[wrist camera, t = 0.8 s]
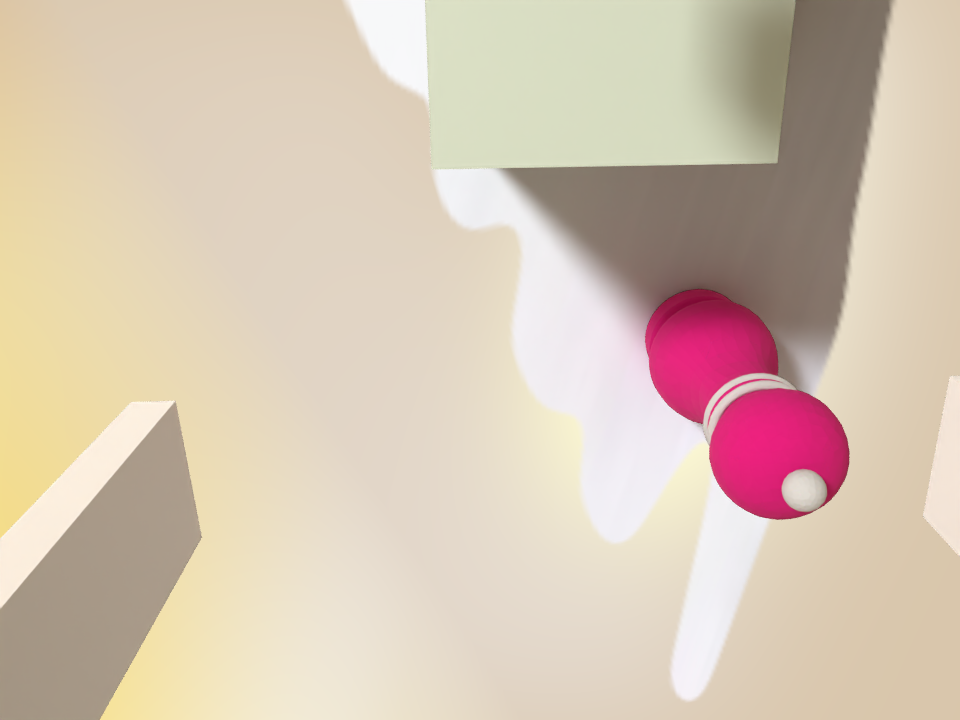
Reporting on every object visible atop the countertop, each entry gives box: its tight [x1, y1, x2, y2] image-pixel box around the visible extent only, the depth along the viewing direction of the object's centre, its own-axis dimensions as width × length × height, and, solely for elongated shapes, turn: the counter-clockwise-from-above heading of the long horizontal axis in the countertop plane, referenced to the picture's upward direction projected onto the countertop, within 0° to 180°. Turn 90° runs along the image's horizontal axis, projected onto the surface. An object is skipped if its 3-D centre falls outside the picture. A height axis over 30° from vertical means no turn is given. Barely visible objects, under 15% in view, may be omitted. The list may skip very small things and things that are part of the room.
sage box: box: [425, 0, 796, 169], centre depth 36 cm, size 7×12×20 cm, turn 91°
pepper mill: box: [645, 289, 849, 520], centre depth 43 cm, size 7×7×20 cm
